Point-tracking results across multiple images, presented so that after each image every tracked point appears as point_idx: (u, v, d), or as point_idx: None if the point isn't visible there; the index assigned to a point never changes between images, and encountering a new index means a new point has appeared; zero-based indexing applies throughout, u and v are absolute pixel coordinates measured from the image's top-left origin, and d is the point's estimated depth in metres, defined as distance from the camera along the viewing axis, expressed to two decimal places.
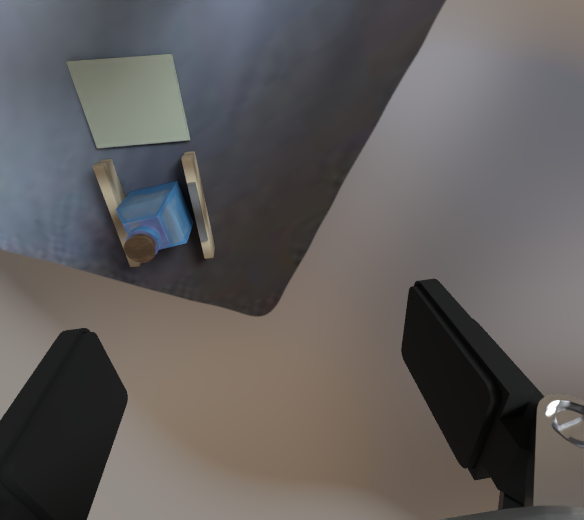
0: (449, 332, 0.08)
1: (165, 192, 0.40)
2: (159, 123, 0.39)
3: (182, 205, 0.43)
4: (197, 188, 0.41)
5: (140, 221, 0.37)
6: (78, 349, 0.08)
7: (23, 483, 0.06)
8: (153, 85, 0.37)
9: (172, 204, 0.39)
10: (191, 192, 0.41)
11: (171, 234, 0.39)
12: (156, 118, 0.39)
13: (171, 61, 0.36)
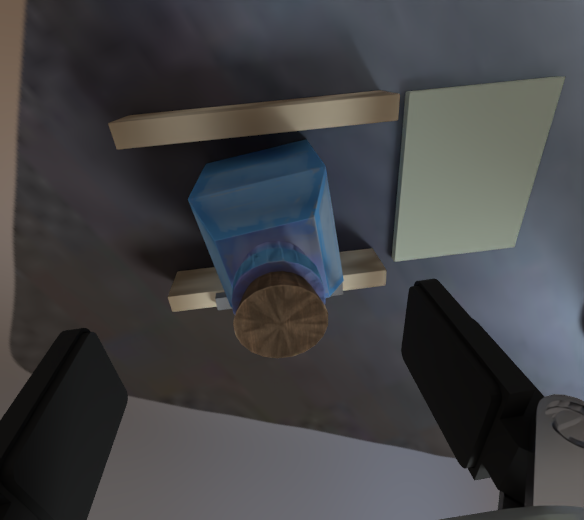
0: (449, 332, 0.08)
1: None
2: (429, 219, 0.22)
3: None
4: None
5: (318, 260, 0.14)
6: (78, 349, 0.08)
7: (23, 483, 0.06)
8: (484, 218, 0.23)
9: None
10: None
11: None
12: (437, 216, 0.22)
13: (505, 246, 0.24)
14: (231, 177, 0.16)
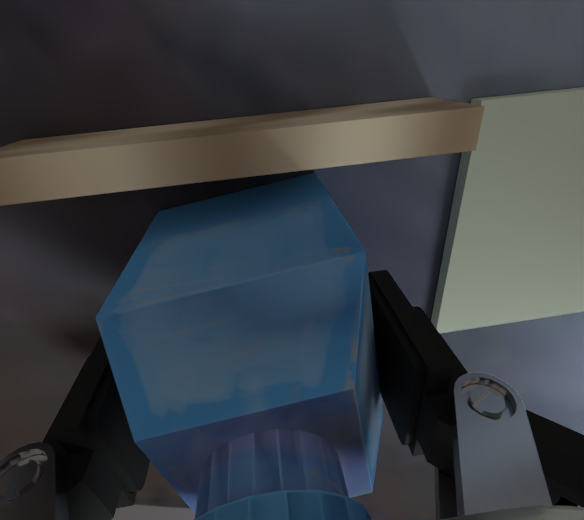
0: (389, 318, 0.08)
1: None
2: (488, 280, 0.16)
3: None
4: None
5: (357, 449, 0.07)
6: None
7: (103, 433, 0.07)
8: (564, 275, 0.16)
9: None
10: None
11: None
12: (499, 275, 0.16)
13: None
14: (188, 257, 0.09)
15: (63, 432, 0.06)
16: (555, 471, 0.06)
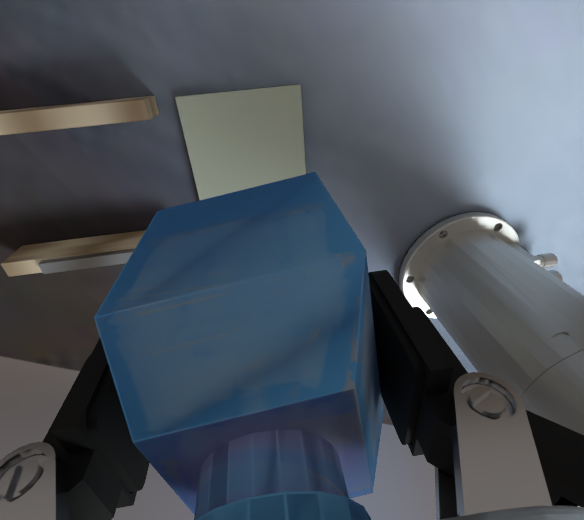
0: (389, 318, 0.08)
1: None
2: None
3: None
4: None
5: (357, 450, 0.07)
6: None
7: (103, 433, 0.07)
8: None
9: None
10: None
11: None
12: None
13: None
14: (187, 256, 0.09)
15: (63, 432, 0.06)
16: (555, 471, 0.06)
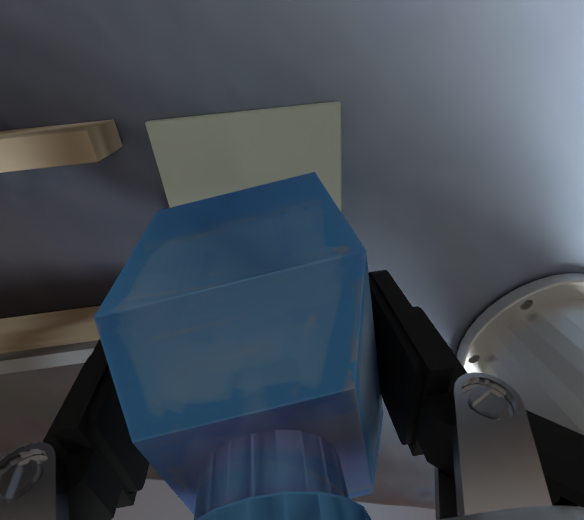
0: (389, 318, 0.08)
1: None
2: None
3: None
4: None
5: (357, 450, 0.07)
6: None
7: (103, 433, 0.07)
8: None
9: None
10: (83, 353, 0.17)
11: None
12: None
13: None
14: (187, 256, 0.09)
15: (63, 432, 0.06)
16: (555, 471, 0.06)
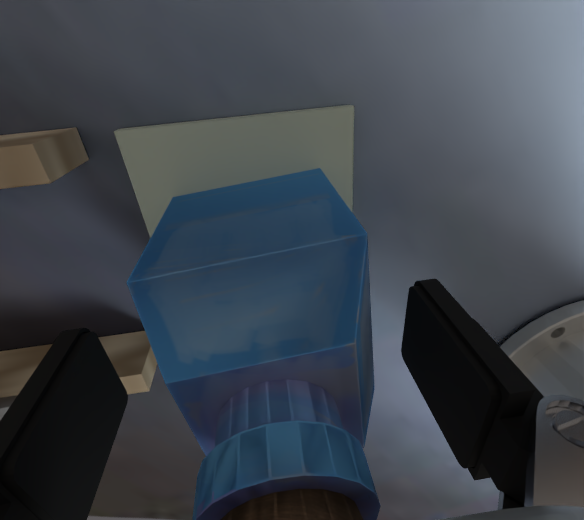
0: (449, 332, 0.08)
1: None
2: None
3: None
4: None
5: (353, 403, 0.08)
6: (78, 349, 0.08)
7: (23, 483, 0.06)
8: None
9: None
10: None
11: None
12: None
13: None
14: (206, 235, 0.10)
15: None
16: None
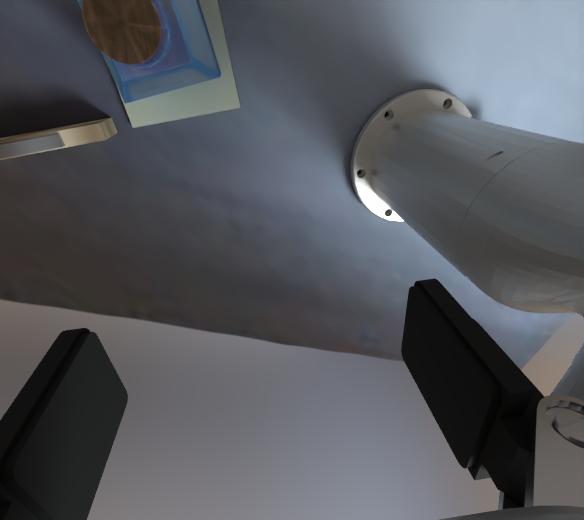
0: (449, 332, 0.08)
1: (216, 63, 0.22)
2: None
3: None
4: (54, 148, 0.25)
5: (174, 19, 0.17)
6: (78, 349, 0.08)
7: (23, 483, 0.06)
8: None
9: (203, 81, 0.21)
10: (42, 141, 0.24)
11: (148, 82, 0.19)
12: None
13: (232, 107, 0.28)
14: None
15: None
16: None
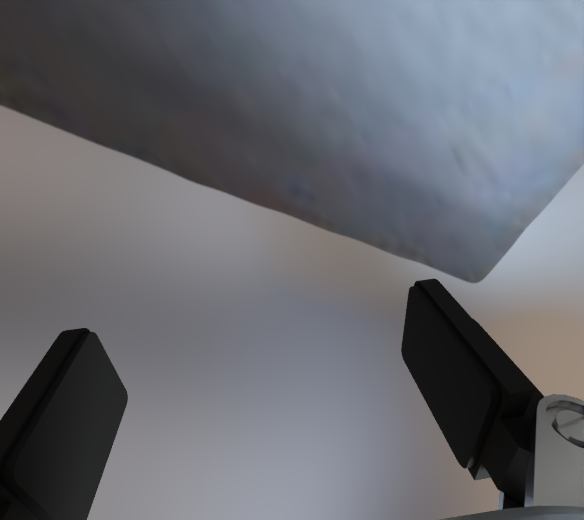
0: (449, 332, 0.08)
1: None
2: None
3: None
4: None
5: None
6: (78, 349, 0.08)
7: (23, 483, 0.06)
8: None
9: None
10: None
11: None
12: None
13: None
14: None
15: None
16: None
